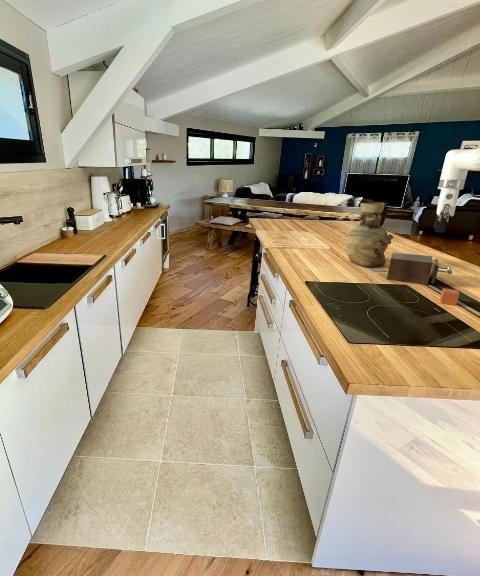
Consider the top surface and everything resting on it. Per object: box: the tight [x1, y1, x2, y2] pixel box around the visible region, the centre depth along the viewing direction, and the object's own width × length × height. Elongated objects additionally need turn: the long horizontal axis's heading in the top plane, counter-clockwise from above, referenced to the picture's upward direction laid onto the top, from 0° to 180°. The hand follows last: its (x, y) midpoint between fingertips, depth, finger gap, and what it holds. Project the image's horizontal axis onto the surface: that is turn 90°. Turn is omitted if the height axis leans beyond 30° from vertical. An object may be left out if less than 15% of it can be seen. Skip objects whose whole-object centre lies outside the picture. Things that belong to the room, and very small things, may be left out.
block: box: [439, 287, 460, 307], centre depth 112 cm, size 4×4×4 cm
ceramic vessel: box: [346, 202, 394, 268], centre depth 157 cm, size 19×21×30 cm
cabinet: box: [386, 251, 434, 286], centre depth 137 cm, size 15×13×10 cm
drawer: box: [429, 258, 453, 285], centre depth 134 cm, size 18×11×8 cm, turn 56°
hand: (439, 230), depth 124 cm, fingers open, 9 cm apart
